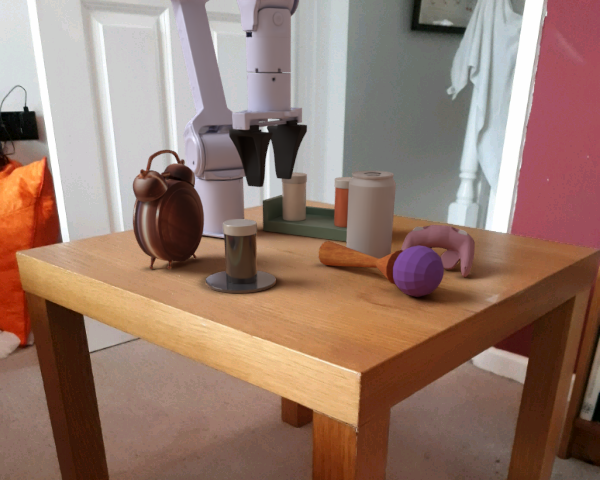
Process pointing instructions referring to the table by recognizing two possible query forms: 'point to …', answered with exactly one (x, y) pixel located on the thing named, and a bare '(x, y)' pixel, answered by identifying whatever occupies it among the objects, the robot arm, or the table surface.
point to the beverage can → (371, 212)
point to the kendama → (393, 266)
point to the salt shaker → (294, 197)
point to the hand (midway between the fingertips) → (270, 182)
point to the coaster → (222, 285)
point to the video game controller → (445, 244)
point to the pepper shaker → (240, 250)
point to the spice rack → (314, 225)
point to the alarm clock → (167, 212)
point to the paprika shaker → (341, 201)
